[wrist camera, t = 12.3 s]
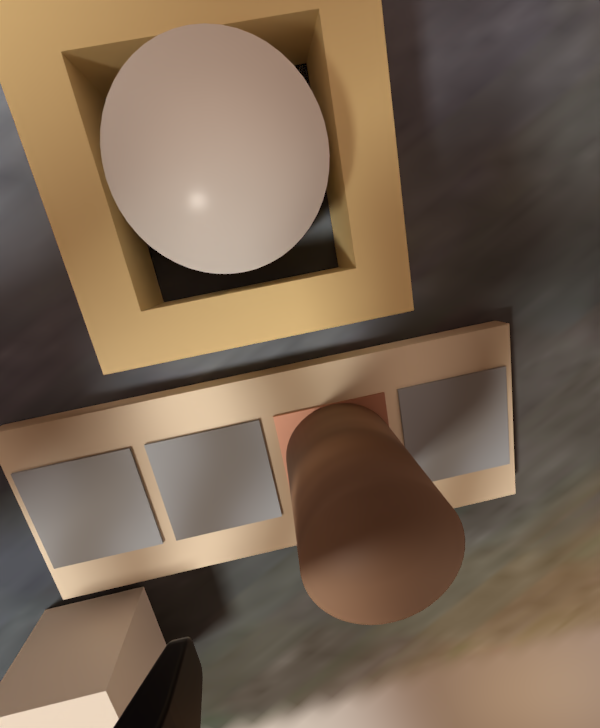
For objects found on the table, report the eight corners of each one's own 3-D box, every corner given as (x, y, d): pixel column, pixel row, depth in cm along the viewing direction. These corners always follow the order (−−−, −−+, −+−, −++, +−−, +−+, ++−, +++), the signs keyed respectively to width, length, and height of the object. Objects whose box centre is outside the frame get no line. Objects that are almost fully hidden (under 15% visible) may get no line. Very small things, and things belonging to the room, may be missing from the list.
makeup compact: (73, 582, 15) (61, 602, 14) (2, 424, 13) (-16, 436, 12) (503, 482, 16) (517, 495, 15) (495, 320, 14) (511, 324, 13)
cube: (80, 678, 16) (25, 805, 13) (46, 607, 15) (-26, 723, 11) (171, 655, 17) (144, 774, 13) (144, 584, 16) (105, 690, 12)
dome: (169, 285, 12) (140, 292, 9) (119, 105, 10) (65, 45, 8) (324, 254, 12) (345, 252, 9) (295, 74, 11) (308, 5, 8)
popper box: (132, 354, 13) (103, 375, 10) (33, 45, 10) (-36, -20, 8) (386, 301, 13) (414, 310, 11) (347, -7, 11) (372, -83, 8)
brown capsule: (296, 512, 14) (314, 640, 9) (276, 415, 13) (285, 502, 8) (399, 490, 14) (469, 604, 10) (388, 393, 13) (460, 466, 8)
